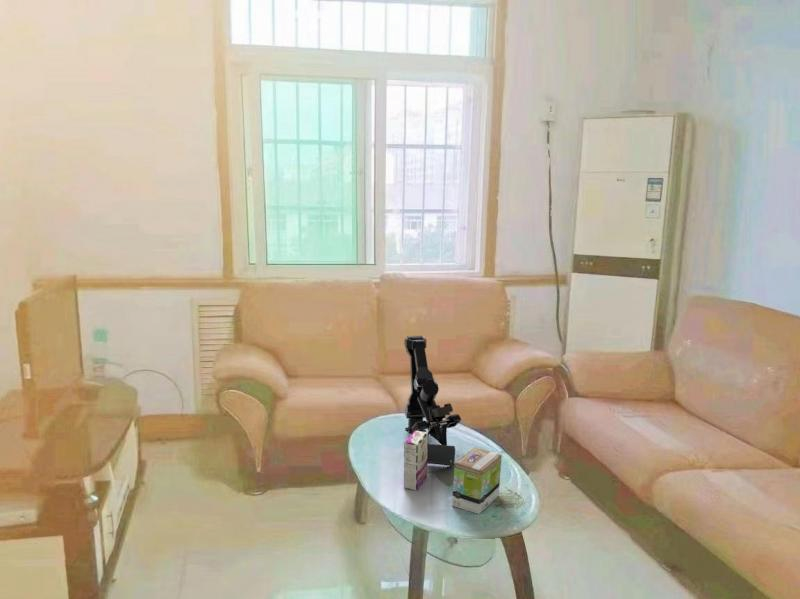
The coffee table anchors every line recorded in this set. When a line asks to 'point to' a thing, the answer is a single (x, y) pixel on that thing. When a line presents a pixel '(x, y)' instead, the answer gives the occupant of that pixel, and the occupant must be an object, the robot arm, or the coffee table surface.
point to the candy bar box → (415, 460)
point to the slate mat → (445, 474)
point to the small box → (441, 454)
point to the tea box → (476, 480)
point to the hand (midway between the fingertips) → (445, 445)
